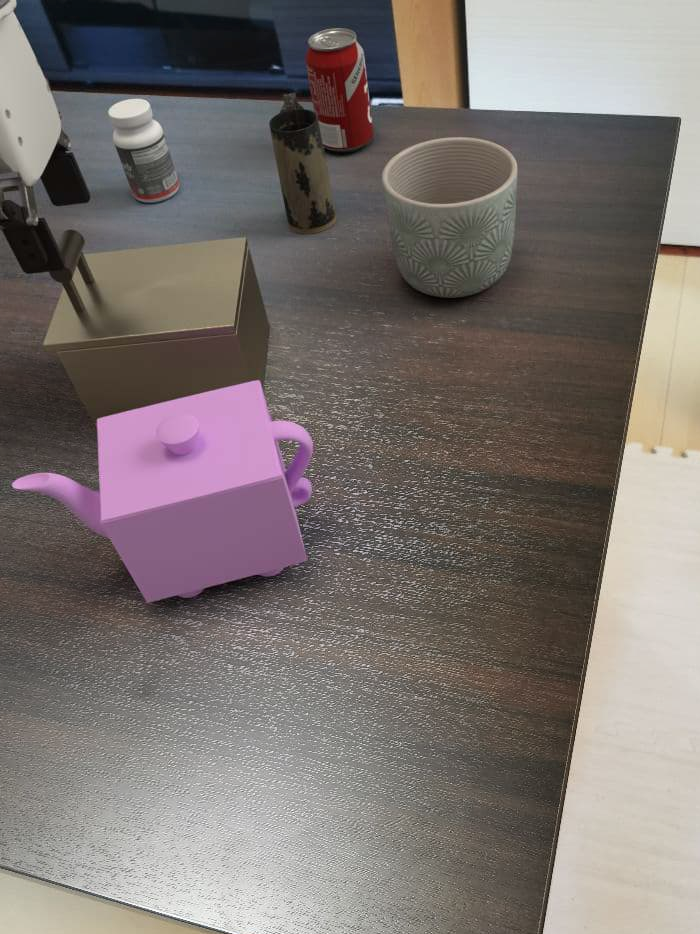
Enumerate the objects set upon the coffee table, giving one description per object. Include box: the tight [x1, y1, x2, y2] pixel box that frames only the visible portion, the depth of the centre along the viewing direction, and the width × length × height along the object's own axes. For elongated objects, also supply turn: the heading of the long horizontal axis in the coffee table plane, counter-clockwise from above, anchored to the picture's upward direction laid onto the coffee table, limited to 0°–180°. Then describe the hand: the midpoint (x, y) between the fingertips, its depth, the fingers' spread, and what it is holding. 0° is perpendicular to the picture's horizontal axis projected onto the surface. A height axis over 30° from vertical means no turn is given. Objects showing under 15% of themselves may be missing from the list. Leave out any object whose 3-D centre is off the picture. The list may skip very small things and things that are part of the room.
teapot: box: [11, 380, 314, 604], centre depth 60 cm, size 20×10×12 cm, turn 105°
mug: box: [268, 91, 338, 235], centre depth 90 cm, size 8×6×12 cm
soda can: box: [305, 27, 374, 154], centre depth 100 cm, size 7×7×12 cm
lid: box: [42, 229, 249, 353], centre depth 70 cm, size 16×13×5 cm
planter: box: [381, 136, 519, 299], centre depth 81 cm, size 12×12×11 cm
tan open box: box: [56, 245, 271, 430], centre depth 75 cm, size 15×13×9 cm
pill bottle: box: [107, 98, 180, 204], centre depth 97 cm, size 6×6×10 cm
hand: (59, 234), depth 67 cm, fingers open, 9 cm apart
